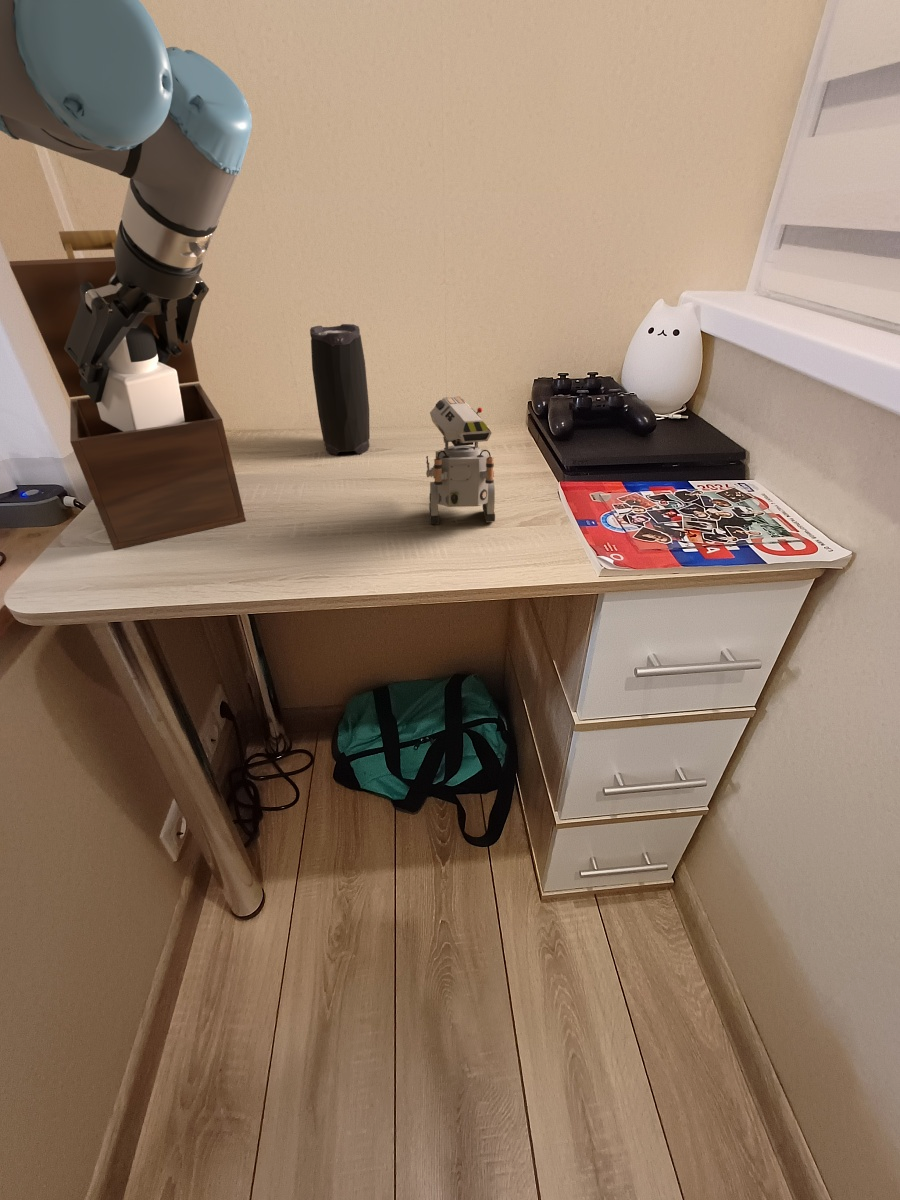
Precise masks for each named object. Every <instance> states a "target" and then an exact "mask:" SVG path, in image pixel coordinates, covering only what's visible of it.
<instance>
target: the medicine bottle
mask: <svg viewBox="0 0 900 1200" xmlns="http://www.w3.org/2000/svg"><path fill="white" fill-rule="evenodd" d="M106 363H107V365H108V366H109V367H110V370H109V373H108V377H107V381H106V384H105V388H104V392H103V395H102V399H101V402H98V403H97V406H98V410H99V414H100V418H101V420H103V421H105V422H106V423H108V424H110V425H112V426H114V427H116V428H118V429H119V430H121V431H123V432H125V431H131V430H138V429H145V428H151V427H158V426H165V425H172V424H178V423H185V419H184V413H183V407H182V401H181V395H180V389H179V386H180V384H179V383H178V377H177V371H176V370H175V369H173V368H171V367H169V366H167V365H165V364H163V363H160V362H158V355H157V349H156V344H155V339H154V333H153V330H152V329H151V328H150V327H149V326H148V325H147V324H145V323H142V322H141V323H140V325H139V326H138V327H137V328H131V329H130V330H129V331H128V333H127V334H126V336H125V337H124V338H123V340H122V341H121V342H120V344H119V345H118V347H117V348H116V349H115V351H114V352H113V353H112V355H111V356H110V358H109V359H108V360H107V362H106Z"/></svg>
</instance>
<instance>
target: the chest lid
mask: <svg viewBox="0 0 900 1200" xmlns="http://www.w3.org/2000/svg"><path fill="white" fill-rule="evenodd" d="M58 235H59V238H60V241H61V244H62V247H63V249H64V252H66V257H67V258H55V259H30V260H10V261H9V262H8V263H9V267H10V268H11V271H12V274H13V276H14V278H15V280H16V282H17V284H18V287H19V289H20V292H21V293H22V295H23V297H24V301H25V302H26V305H27V306H28V309H29V312H30V313H31V315H32V318H33V320H34V322H35V324H36V327H37V329H38V332H39V334H40V335H41V337H42V340H43V342H44V345H45V347H46V349H47V351H48V354H49V355H50V358H51V360H52V362H53V365H54V366H55V369H56V371H57V373H58V375H59V378H60V380H61V383H62V385H63V386H64V389H65V391H66V393H67V396H68V398H77V397H78V398H79V397H87V396H88V394H87V393H86V392H85V391H84V389H83V388H82V387H81V386H80V382H81V377H82V376H81V375H80V373H79V367H78V365H77V364H76V363H75V362H74V360H73V359H72V358H71V357H70V355H69V354H68V353H67V352H66V350H65V349H64V347H65V344H66V341H67V339H68V336H69V333H70V330H71V327H72V324H73V322H74V319H75V316H76V313H77V310H78V307H79V305H80V302H81V296H80V286H81V285H82V284H83V283H87V282H88V283H91V284H92V286H93V287H94V288H95V289H97V288H100V287H104V286H107V285H109V284H108V283H109V280H110V278H111V277H112V276H113V274H114V273H115V271H116V263H115V256H105V257H104V256H103V257H102V256H101V257H80V258H79V257H78V258H76V256H75V252H81V251H83V252H84V251H85V252H86V251H110V250H112V251H114V247H115V242H116V238H117V232H116V230H115V229H99V230H95V229H93V230H62V231H61V230H59V231H58ZM130 315H131V314H130ZM142 323H145V324H147V325H148V326H149V327H150V328H151V329H152V330H153V333H154V335H155V336H156V337H157V338H158V339H159V336H158V335H157V332H156V327H155V321H154V315H148V316H145V318H144V319H143V320H142ZM178 346H179V348H180V349H181V350H182V353H181V354H180V355H179V356H174V355H173V354H171V356H170V359H169V361H168V363H167V364H165V365H167V366H169V367H171V368H173V369H175V370H176V371H177V377H178V383H179V385H184V384H192V383H200V379H199V373H198V369H197V362H196V356H195V351H194V347H193V341H191V342H190V343H189V344H187V345H184V344H183V343H180V344H178Z"/></svg>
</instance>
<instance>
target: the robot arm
mask: <svg viewBox="0 0 900 1200" xmlns="http://www.w3.org/2000/svg"><path fill="white" fill-rule="evenodd" d="M252 117H253V116H252V113H251V110H250V106H249V104H248V101H247V99H246V97H245V95H244V94H243V92H242V90H241V89H240V88H239V87H238V85H237V84H236V82H234V81H233V79H232V78H231V77H230V76H229V75H228V73H226V72H225V71H224V70H223V69H221V67H219V66H218V65H216V64H215V63H214V62H213V61H211V60H209V59H208V58H207V57H205V56H204V55H202V54H200V53H198V52H196V51H195V50H192V49H185V50H183V49H182V48H180V47H178V46H168V47H166V45H165V42H164V40H163V37H162V35H161V32H160V31H159V29H158V26H157V25H156V23H155V20H154V19H153V17H152V15H151V14H150V12H149V11H148V10H147V8H146V7H145V5H144V4H143V3H142V1H141V0H0V132H2V133H4V134H6V135H7V136H8V137H10V138H11V139H12V140H17V141H20V140H23V141H26V142H29V143H31V144H34V145H37V146H40V147H42V148H45V149H48V150H50V151H54V152H56V153H58V154H62V155H64V156H67V157H70V158H73V159H76V160H79V161H82V162H84V163H87V164H90V165H93V166H96V167H99V168H102V169H104V170H107V171H110V172H113V173H116V174H118V175H119V176H122V177H124V178H127V179H129V181H128V187H127V190H126V194H125V199H124V203H123V207H122V212H121V216H120V218H121V219H120V221H119V224H118V229H117V232H116V234H117V238H116V242H115V247H114V250H113V255H114V256H113V257H115V263H116V271H115V273H114V274H113V276H112V277H111V278H110V280H109V283H108V284H109V285H107V286H104V287H100V288H97V289H95V288H94V287H93V286H92V284H91V283H88V282H87V283H83V284H82V285H81V286H80V296H81V302H80V305H79V307H78V310H77V313H76V316H75V319H74V322H73V324H72V327H71V330H70V333H69V336H68V339H67V341H66V344H65V347H64V349H65V350H66V352H67V353H68V354H69V355H70V357H71V358H72V359H73V360H74V362H75V363H76V364H77V365H78V367H79V373H80V375H81V376H82V377H81V382H80V386H81V387H82V388H83V389H84V391H85V392H86V393H87V394H88V395H87V397H90V398H91V399H92V400H93V402H94V403H98V402H101V399H102V395H103V392H104V388H105V384H106V381H107V377H108V373H109V370H110V367H109V366H108V365H107V363H106V362H107V360H108V359H109V358H110V356H111V355H112V353H113V352H114V351H115V349H116V348H117V347H118V345H119V344H120V342H121V341H122V340H123V338H124V337H125V336H126V334H127V333H128V331H129V330H130V329H131V328H137V327H138V326H139V325H140V323H141V322H142V320H143V319H144V318H145V316H148V315H154V321H155V327H156V332H157V335H158V336H159V339H158V338H157V337H156V336H155V335H154V339H155V344H156V349H157V355H158V362H160V363H163V364H167V363H168V361H169V359H170V356H171V354H173V355H174V356H179V355H180V354H181V353H182V350H181V349H180V348H179V346H178V344H180V343H183V344H184V345H187V344H189V343H190V342H191V341H192V340H193V337H194V333H195V329H196V324H197V320H198V318H199V314H200V309H201V306H202V303H203V301H204V299H205V298H206V296H207V295H208V293H209V291H210V288H209V287H208V286H207V284H206V283H205V281H204V280H203V279H202V277H201V276H200V274H201V272H202V269H203V266H204V265H203V263H204V262H205V259H206V256H207V253H208V251H209V248H210V245H211V243H212V240H213V237H214V235H215V232H216V230H217V228H218V225H219V223H220V219H221V216H222V214H223V211H224V209H225V206H226V203H227V201H228V199H229V197H230V193H231V191H232V189H233V186H234V184H235V181H236V179H237V177H238V175H239V174H240V173H241V171H242V168H243V162H244V159H245V156H246V152H247V149H248V146H249V144H250V143H249V142H250V136H251V134H252V129H253V118H252ZM130 314H131V315H130ZM192 342H193V341H192Z"/></svg>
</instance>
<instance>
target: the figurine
mask: <svg viewBox="0 0 900 1200" xmlns="http://www.w3.org/2000/svg"><path fill="white" fill-rule="evenodd" d="M476 411H477V412H476ZM476 411H475V409H473V408H472V407H471V406H470V405H469V404H468V403H467V402H466V401H465V400H464V399H463V398H462V397H461V396H446V397H443V398H442V399H440V400H438V401H437V402H436V403H435V406H434V408H432V409H431V411H430V412H429V415H430V419H431V421H432V423H433V424H434V426H435V427H436V428H437V430H438V431H439V432H440V433H441V435H442V436H443V437H442V439H443V444H444V448H443V449H439V450H435V458H434V459H433V460H434V461H433V465H432V467H431V464H430V462H429V456H428V455H426V457H425V459H426V469H427V470H426V472H425V473H426V474H425V475H426V477H427V478H432V479H434V480H433V481H431V482H429V503H428V507H429V508H428V509H429V522H430V524H431V525H438V524H440V512H439V505H441V506H444V507H449V508H453V507H454V508H462V507H481V506H482V510H483V515H484V518H485V522H486V523H494V522H496V513H495V503H496V501H495V500H496V490H495V487H496V486H495V480H494V477H495V470H494V467H495V463H494V462H495V461H494V457H492V456H491V452H490V450H488V449H481V448H480V447H479V443H482V442H488V441H489V439H490V437H491V436H492V431H491V430H490V427H489V426H488V425H487V424H486V423H485V421H484V420H483V419H482V418H481V416H479V414H480V413H482V412H483V408H482V407H478V408H477V410H476ZM449 443H451V444H452V445H449Z"/></svg>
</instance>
